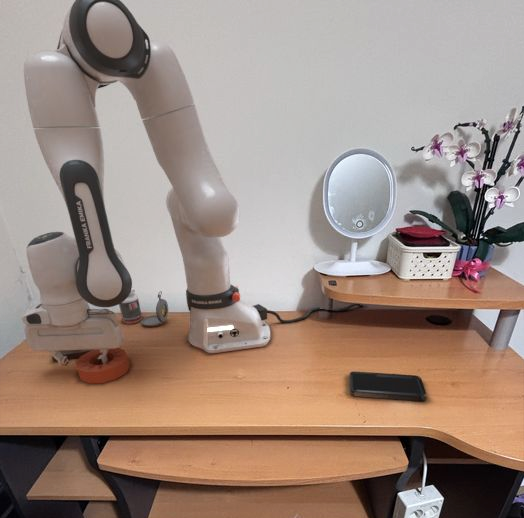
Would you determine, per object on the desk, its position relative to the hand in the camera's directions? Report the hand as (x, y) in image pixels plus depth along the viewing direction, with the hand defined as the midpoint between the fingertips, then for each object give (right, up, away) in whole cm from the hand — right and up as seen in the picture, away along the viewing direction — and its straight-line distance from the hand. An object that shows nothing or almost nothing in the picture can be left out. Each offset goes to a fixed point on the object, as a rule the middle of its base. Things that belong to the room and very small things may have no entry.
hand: (84, 364), depth 89 cm
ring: (+4, -2, +1) cm, 5 cm away
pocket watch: (+11, +11, +23) cm, 28 cm away
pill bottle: (+3, +12, +26) cm, 28 cm away
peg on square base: (-7, +4, +11) cm, 13 cm away
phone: (+68, -5, -9) cm, 69 cm away
